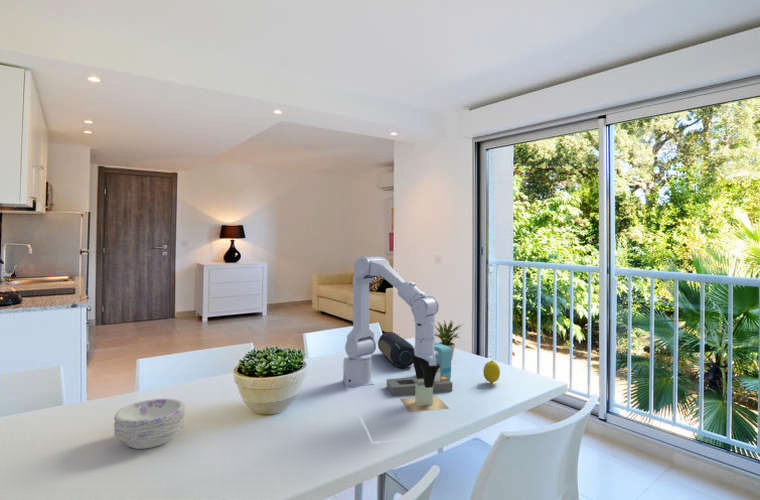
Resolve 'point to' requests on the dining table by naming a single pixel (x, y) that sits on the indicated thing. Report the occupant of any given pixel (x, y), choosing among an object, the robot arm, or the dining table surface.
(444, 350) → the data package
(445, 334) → the house plant
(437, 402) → the cork mat
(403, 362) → the portable speaker
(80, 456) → the dining table surface
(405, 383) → the power strip
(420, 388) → the plug
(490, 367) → the lemon
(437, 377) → the twin plug
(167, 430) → the paper bowls
